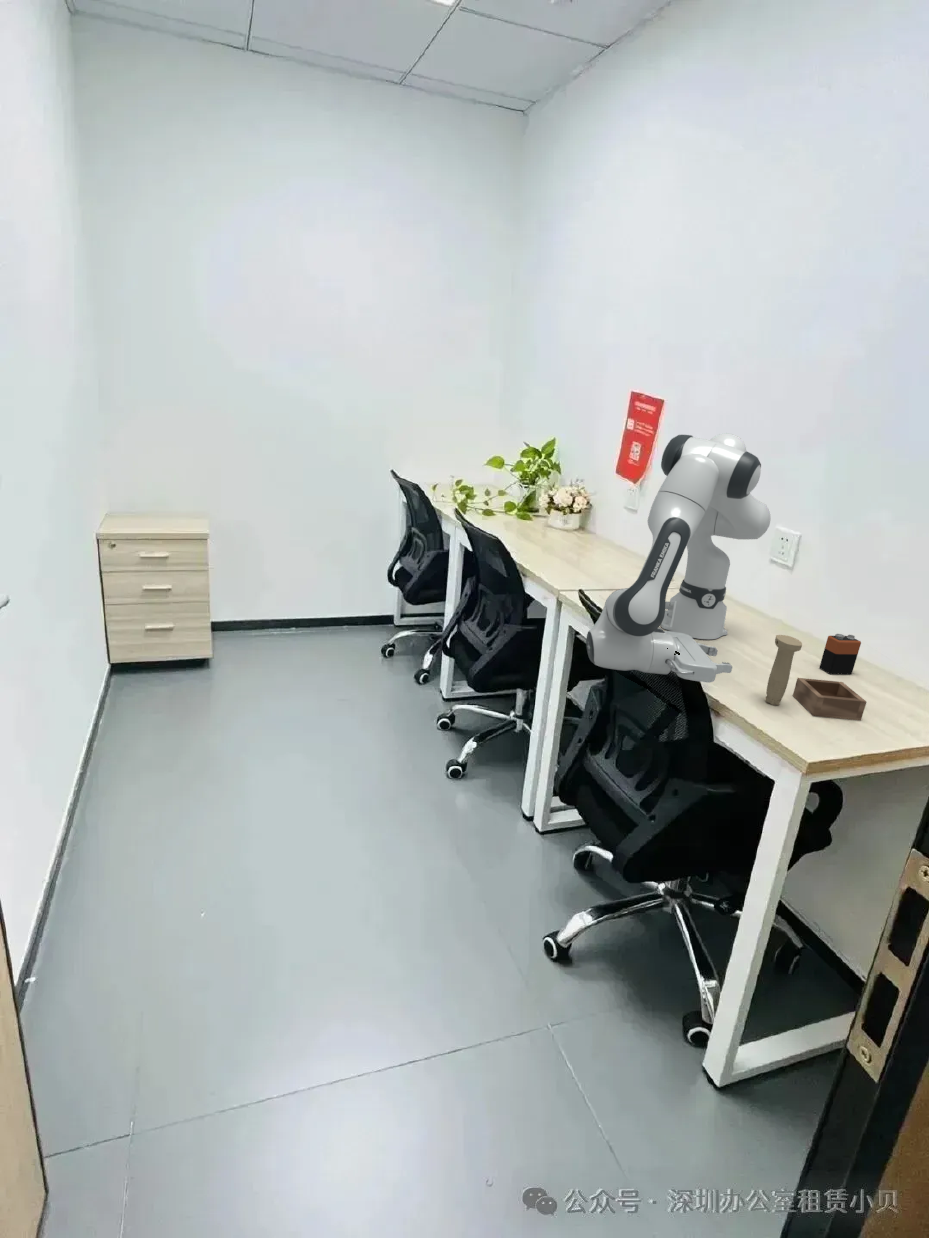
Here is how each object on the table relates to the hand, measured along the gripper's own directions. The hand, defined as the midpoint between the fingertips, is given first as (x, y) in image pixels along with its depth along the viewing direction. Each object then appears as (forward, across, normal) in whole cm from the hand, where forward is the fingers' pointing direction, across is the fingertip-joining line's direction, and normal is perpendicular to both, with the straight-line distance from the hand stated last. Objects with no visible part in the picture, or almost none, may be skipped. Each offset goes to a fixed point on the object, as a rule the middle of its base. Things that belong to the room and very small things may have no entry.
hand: (723, 659), depth 152 cm
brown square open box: (+25, 0, +9) cm, 27 cm away
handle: (+13, 0, +9) cm, 16 cm away
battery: (+39, +24, +9) cm, 47 cm away
